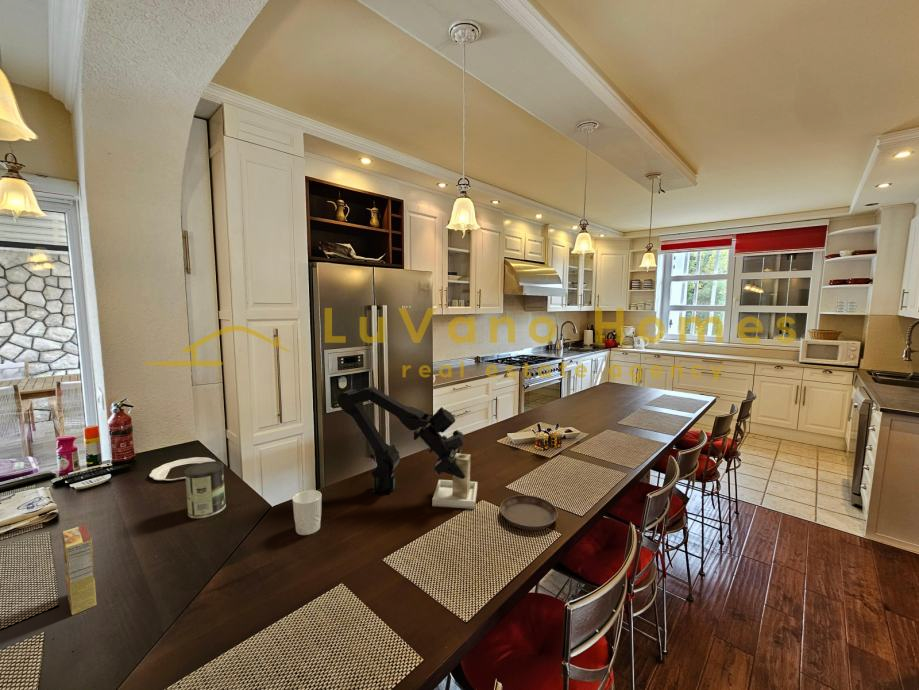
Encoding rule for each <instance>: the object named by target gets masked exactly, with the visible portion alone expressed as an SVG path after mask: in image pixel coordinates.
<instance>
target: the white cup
mask: <svg viewBox="0 0 919 690" xmlns="http://www.w3.org/2000/svg"><path fill="white" fill-rule="evenodd" d="M292 508H293V509H292V511H293V518H294V523H295V524H294V525H295V532H296V533H297V535H300V536H309V535H311V534H312V535H313V534H315V533H316V532H318V531H319V530H320V529H321V520H322V493H321V491H319V490H315V489H307V490H304V491H300V492H297V493H296V494H294V495H293V497H292Z"/></svg>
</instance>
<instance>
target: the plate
mask: <svg viewBox="0 0 919 690" xmlns="http://www.w3.org/2000/svg"><path fill="white" fill-rule="evenodd" d="M211 461H216V460H215V459H212V458H210V457H199V456H196V457H194V456H193V457H188V458H181V459H177V460H174V461H171V462H167V463H164V464H162V465H160V466H159V467H156V468H153V469H152V470H151V472H150V473H149V474H148V475H149V477H150V478H152V479H153V481H154V480H155V481H179V480H186V478H185V476H184V477H177V478H167V476H168V474H169V472H170V470H171V469H173V468H175V467H178V466H183V465H188V464H199V463H204V462H211Z"/></svg>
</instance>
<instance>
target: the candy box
mask: <svg viewBox="0 0 919 690" xmlns="http://www.w3.org/2000/svg"><path fill="white" fill-rule="evenodd" d="M61 534H62V548H63V560H64V571H65V582H66V590H67V600H68V604H69V609H70V612H71V613H70V614H71V615H72V616H75V615H76V614H79V613H81V612H83V611H86V610H89V609H90V608H93V607H95V606H97V594H96V579H95V565H94V564H95V563H94V553H93V552H94V551H93V541H92V540H93V539H92V537H91V535H90V532H89V529H88V526H87V524H84V525H80V526H75V527H74V528H70V529H67V530H63V531H62V532H61Z"/></svg>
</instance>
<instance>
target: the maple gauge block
mask: <svg viewBox="0 0 919 690" xmlns="http://www.w3.org/2000/svg"><path fill="white" fill-rule="evenodd" d="M471 456H472V454H468V453H461V454H460V453H456V455H455V456H454V458H453V460H454V459H455V458H456V464H457V466H458V467H459V468H460V470H461V471H462V473H463V474H464V476H465V478H464V479H461V478H459V477H456V476H454V475H452V481H453V492H452V496H458V497H467V496H468V494H469V491H470V482H471Z"/></svg>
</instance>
